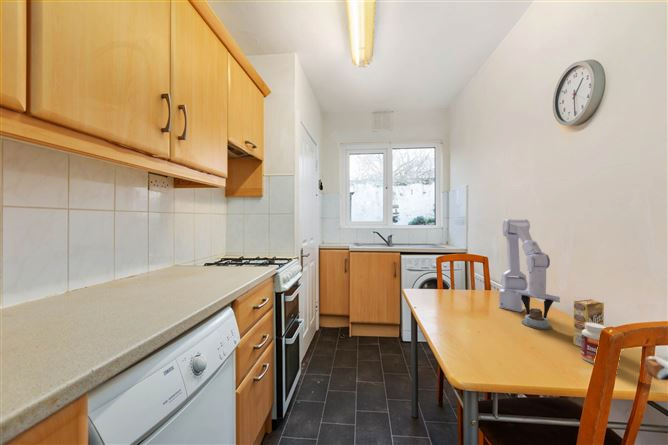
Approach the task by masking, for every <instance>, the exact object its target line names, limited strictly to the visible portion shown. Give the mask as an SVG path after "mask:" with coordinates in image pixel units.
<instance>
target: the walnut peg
mask: <svg viewBox="0 0 668 445" xmlns="http://www.w3.org/2000/svg"><path fill="white" fill-rule="evenodd" d="M529 315H530V318H531V319H535V320H541V321H542V317H543V311H542V309H540V308H537V307H530V314H529Z"/></svg>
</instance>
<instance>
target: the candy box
mask: <svg viewBox="0 0 668 445" xmlns="http://www.w3.org/2000/svg"><path fill="white" fill-rule="evenodd" d="M604 305H605V302H603V301H599V300H595V299H591V298H590V299H584V300H583V299H582V300H574V301H573V345H575V346H577V347H580V348H581V335H582V330H584V329H586V328H585V323H587V322H590V323H597V324H600V325H603V326H605V325H604V324H605V323H604V322H605V321H604V320H605V318H604V313H605V312H604V311H605V310H604V307H605V306H604Z"/></svg>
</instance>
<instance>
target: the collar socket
mask: <svg viewBox="0 0 668 445" xmlns="http://www.w3.org/2000/svg"><path fill="white" fill-rule="evenodd" d="M549 322H550V320H549V319H548V318H544V316H542V321H541V320H535V319H531V318H530V314H529V315H528V314H526V315H525V316H524V319H522V320H521V324H522V325H524V326H525V327H527V328H530V329H535V330H541V331H550V330H552V329H553V326H552V325H551V324H549Z"/></svg>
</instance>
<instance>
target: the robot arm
mask: <svg viewBox="0 0 668 445" xmlns="http://www.w3.org/2000/svg"><path fill="white" fill-rule="evenodd" d="M530 227H531V224H530V221H529V219H527V218H524V219H522V218H521V219H520V218H519V219H512V218H511V219H510V218H509V219H508V218H505V219H504V221H503V222H502V235H503V236H504V237H506V251H507V252H506V253H507V254H506V255H507V270H506V271H504V272H503V273H501V279H500V284H501V287H502V288H500V289H499V296H498V297H499V298H498V302H499V303H498V308H500V309H505V310H509V311H514V312H519V313H522V312H524V310H525V311H526V315H530V309H531V304H530V303H531V298H533V299H539V300H544V301H543V309H544V310H543V317H544V318H547V317H548V312H549V311H550V308H551V307H552V304H553V303H554V302H556V303H561V297H560V296H557V295H553V294H552V295H551V294H548V293H547V269H548V268H549V267H550V265H551V260H550V257H549V255H548V254H547V253H545V252H543V251H542V249H541V248H540V245H539V244H538V242H537V241H535V240H533V238H532V235H531V232H530V229H531V228H530ZM519 239H520V241H521V242H522V245H521V248H522V250H523V252H524V254H525V256H526V259H525V261H526V266H527V271H528V280H527V275H526V274H524V273H523V271H521V267H520V266H521V265H520V246H519V243H520V242H519ZM523 305H524V307H523ZM547 319H548V318H547Z"/></svg>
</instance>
